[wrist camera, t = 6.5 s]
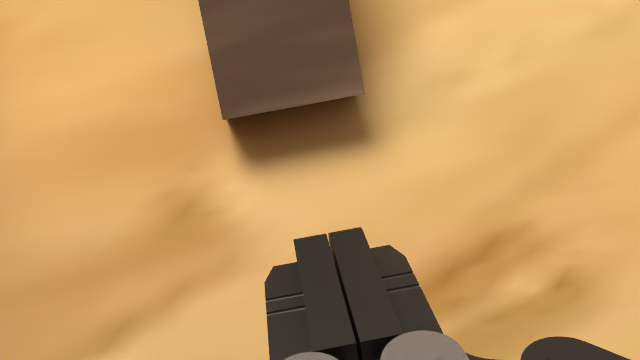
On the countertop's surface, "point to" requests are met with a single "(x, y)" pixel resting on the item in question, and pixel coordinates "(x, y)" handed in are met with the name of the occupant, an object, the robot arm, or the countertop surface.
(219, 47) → the domino
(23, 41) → the countertop surface
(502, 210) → the countertop surface
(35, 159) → the countertop surface
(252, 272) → the countertop surface
